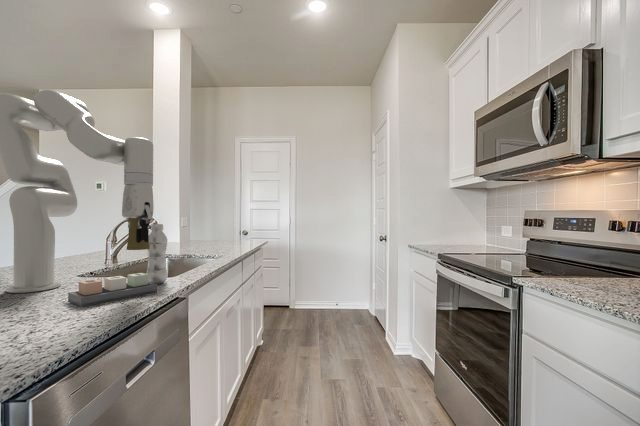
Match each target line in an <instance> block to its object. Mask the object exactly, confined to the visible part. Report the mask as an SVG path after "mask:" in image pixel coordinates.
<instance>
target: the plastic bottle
mask: <svg viewBox="0 0 640 426" xmlns="http://www.w3.org/2000/svg"><path fill="white" fill-rule="evenodd" d="M150 227H151V228H150V230H151V232H150V233H149V246H150V249H146V250H147V267H146V273H145V274H148V282H149V283H153V284H157V285H161V284H163V283H166V281H167V278H168V271H167V265H166V264H167V263H166V254H167V246H168V238H167V235H166V234H165V232H164V231H163V230H164V224H162V223H161V224H160V223H156V224H155V223H153V224H152V223H151V224H150Z"/></svg>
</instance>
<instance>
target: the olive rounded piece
mask: <svg viewBox="0 0 640 426" xmlns="http://www.w3.org/2000/svg"><path fill="white" fill-rule="evenodd" d="M140 218H145V216H140ZM128 219H129V222H130V230H129V229H128V236H127V242H126V243H127V244H126V251H142V250H144V251H145V250H147V249H150V246H149V240H148V242H145V241H144V240H142V241H141V242H140V243H137V242H136V229H138V223H137V219H138V218H128ZM142 221H143V220H141V223H142Z"/></svg>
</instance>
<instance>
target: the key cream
mask: <svg viewBox="0 0 640 426" xmlns="http://www.w3.org/2000/svg"><path fill="white" fill-rule="evenodd" d="M126 283H127V276H126V277H125V276H122V275H116V276H109V277H104V286H103V287H104V289H107V290H109V291H113V290H118V289H124V288H126Z"/></svg>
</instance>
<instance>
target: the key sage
mask: <svg viewBox="0 0 640 426" xmlns="http://www.w3.org/2000/svg"><path fill="white" fill-rule="evenodd" d="M126 283H127V285H129V286H133V287H136V286H141V285H147V284H148V274H146V273H145V272H138V273H137V272H136V273H130V274H129V273H128V274H127V275H126Z"/></svg>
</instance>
